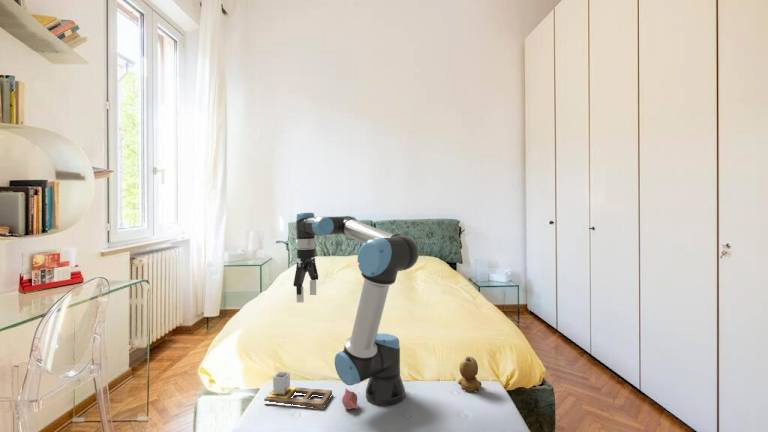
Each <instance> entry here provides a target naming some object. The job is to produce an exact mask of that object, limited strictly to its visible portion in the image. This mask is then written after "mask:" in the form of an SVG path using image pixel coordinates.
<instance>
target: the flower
mask: <svg viewBox="0 0 768 432" xmlns="http://www.w3.org/2000/svg"><path fill="white" fill-rule="evenodd" d="M342 396H343V397H342V399H341V401H342V402H341V403H342V405H343V407H344V408H345V409H348V410H352V409H359V406H358V395H357V393H356V392H355V391H349V389H347V388H345V391H344V395H342Z"/></svg>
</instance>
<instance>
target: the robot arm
mask: <svg viewBox="0 0 768 432" xmlns="http://www.w3.org/2000/svg"><path fill="white" fill-rule="evenodd" d="M295 223H296V224H295V225H296V248H297V249H296V257H297V259H300V261H296V268H295V274H294V279H293V287H295V288H296V303H301V304H302V303H304V302H305V301H304V299H305V297H304V286H303V283H304V280H305V277H306V274H307V273H308V276H309V278H310V280H309V296H317V280H319V274H318V270H317V269H318V268H317V265H316V249H315V248H316V239H315V237H316V236H319V237H323V236H330V235H343V236H346V237H347V238H351V239H353V240H355V241H357V242H360V243H362V245H361V246H360V247H359V250H358V252H357V263H358V264H357V265H358V269H359V271H360V272H361V276H362V278H363V279H364V280H363V285H362V289H361V292H360V293H361V294H360V297H359V302H358V306H357V310H356V316H355V318H354V322H353V323H354V324H353V328H352V331H351V336H350V337H348V338H347V339H346V340H345V343H344V346H343V347H344V348H343V350H342V351H338V353H336V354H335V356H334V367H335V372H336V375H337V376H338V378H339V379H340V380H341V382H342V383H343V384H345V385H347V386H354V385H357V384H360V383H362V382H364V381H366V380H368V381H367V384H366V389H365V398H366V400H367V401H368V402H369V403H371V404H373V405H376V406H381V407H388V406H389V407H390V406H394V405H397V404H400V403H402V401H404V400H405V397H406V388H405V386H404V385H405V384H404V382H403V380H402V377H401V346H400V339H399V338H398V337H397V336H396V335H393V334H389V333H382V332H381V333H380V332H378V331H379V329H380V324H381V320H382V316H383V312H384V308H385V306H386V305H385V303H386V300H387V297H388V293H389V288H390V286H391V285H393V284H395V282H396V279H397V277H398V276H397V275H398V273H399V272H401V271H406V270H409V269H411V268H412V267H413V266H414V265H416V263H417V261H418V259H419V255H420V254H419V253H420V250H419V246H418V244H417V243H416V241H415V240H414V239H413V238H411V237H409V236H407V235H404V234H401V233H397V232H395V233H390V232H388V231H385V230H382V229H379V228H377V227H375V226H371V225H369V224H367V223H366V224H365V223H363V222H361V221H358V219H357V218H356V217H355V216H350V215H345V216H342V215H341V216H315V212H298V213H296V221H295Z"/></svg>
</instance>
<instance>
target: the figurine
mask: <svg viewBox="0 0 768 432" xmlns="http://www.w3.org/2000/svg"><path fill="white" fill-rule="evenodd" d="M458 370H459V373H460V375H461V378H459V380H457V384H458V385H460V386H461V389H462V390H463V391H464V390H465V391H464V392H466V393H471V392H473V393H476V392H475V391H477V392H479V390H480V389H481V388H482V382H481V381H480V380H478V378H477V375H478V372H479V365H478V362H477V360H476V359H475V358H474V357H472V356H466V357H465V358H463V359H462V360H461V362H460V364H459V369H458ZM479 388H480V389H479Z"/></svg>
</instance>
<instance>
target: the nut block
mask: <svg viewBox="0 0 768 432" xmlns="http://www.w3.org/2000/svg"><path fill="white" fill-rule="evenodd" d="M290 375H291V373H290V372H285V371H278V372H277V373H276V374H275V375H274V376H273V377H272V379H273V380H272V381H273V383H272V384H273V385H272V387H273V390H274V395H277V396H286V395H287V394H288V393H289V392H290V387H291V381H290V380H291V379H290V378H291V377H290Z"/></svg>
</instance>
